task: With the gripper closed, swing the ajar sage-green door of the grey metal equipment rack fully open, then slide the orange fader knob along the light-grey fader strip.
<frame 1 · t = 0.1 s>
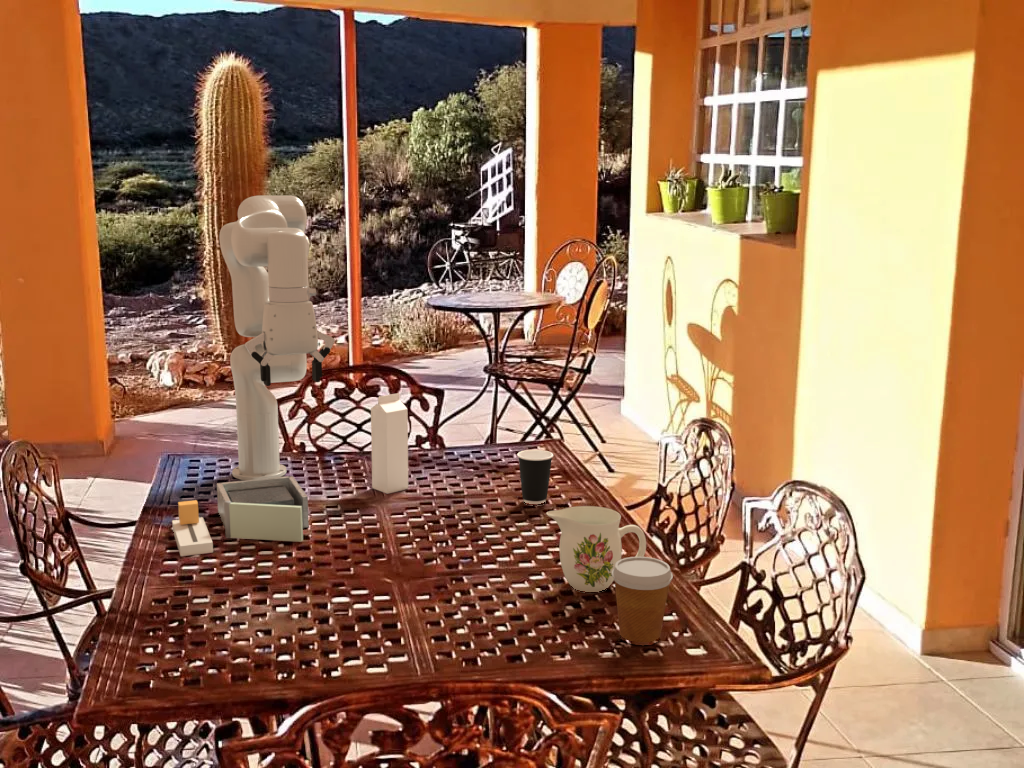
hand: (291, 382, 212), 31 cm above the table, tool pointing down, fingers open, 9 cm apart
disposable coffee cup: (639, 639, 172), on the table
milk: (390, 489, 249), on the table
fader panel: (192, 540, 214), on the table
fader knob: (188, 512, 217), point 4 cm above the table, slide at 0.0 cm
pitcher: (594, 586, 193), on the table
rack door: (263, 521, 214), point 4 cm above the table, hinge at 30.0°
dixie cup: (534, 503, 240), on the table
rack: (262, 519, 226), on the table
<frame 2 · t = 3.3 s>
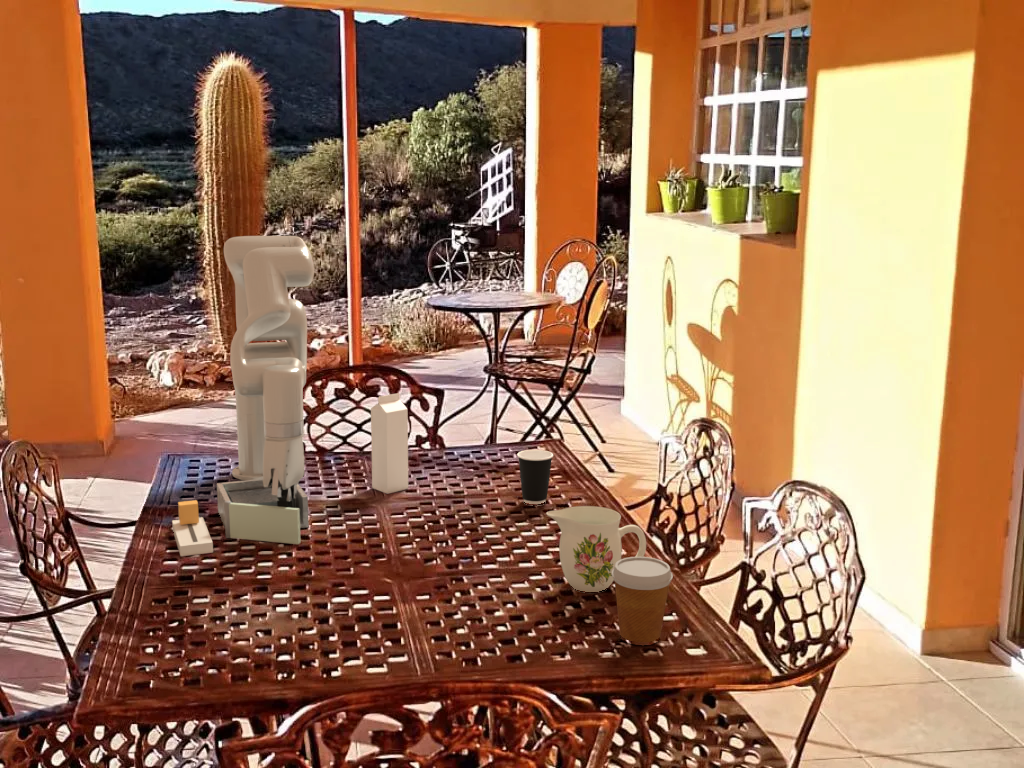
hand: (286, 518, 215), 4 cm above the table, tool pointing down, fingers closed
rack door: (261, 522, 213), point 4 cm above the table, hinge at 35.6°, touching gripper
everything else where it was.
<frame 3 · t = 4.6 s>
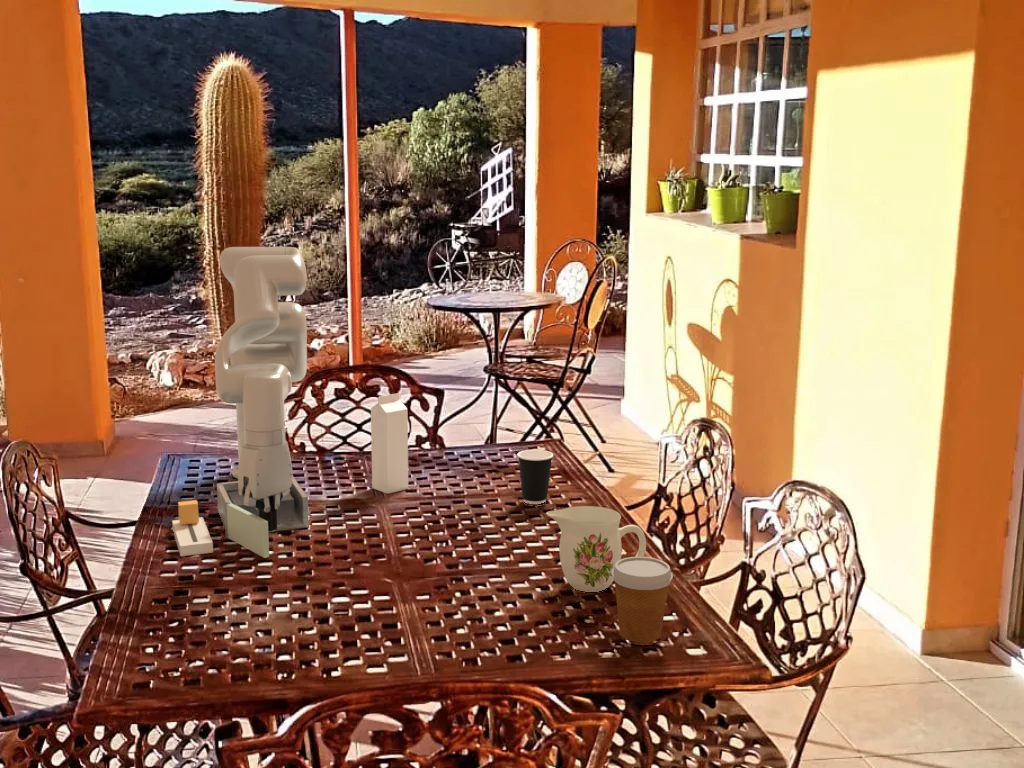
hand: (268, 529, 209), 4 cm above the table, tool pointing down, fingers closed
rack door: (245, 528, 209), point 4 cm above the table, hinge at 70.7°, touching gripper
everything else where it was.
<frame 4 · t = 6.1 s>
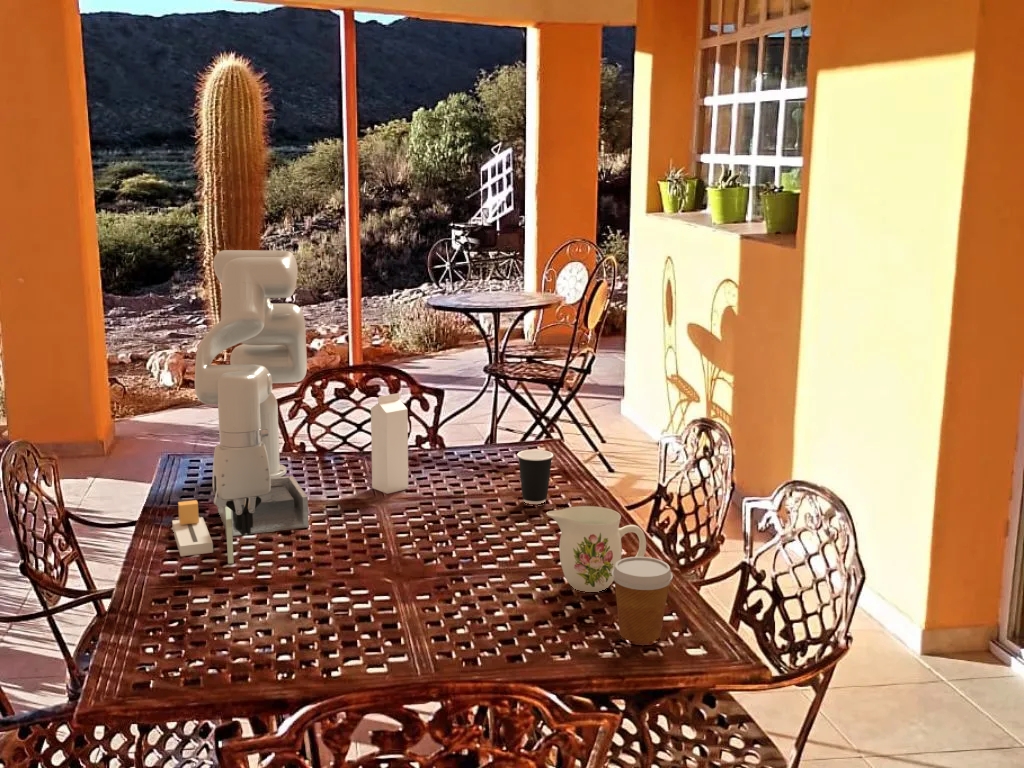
hand: (244, 532, 206), 4 cm above the table, tool pointing down, fingers closed
rack door: (229, 531, 208), point 4 cm above the table, hinge at 96.8°, touching gripper
everything else where it was.
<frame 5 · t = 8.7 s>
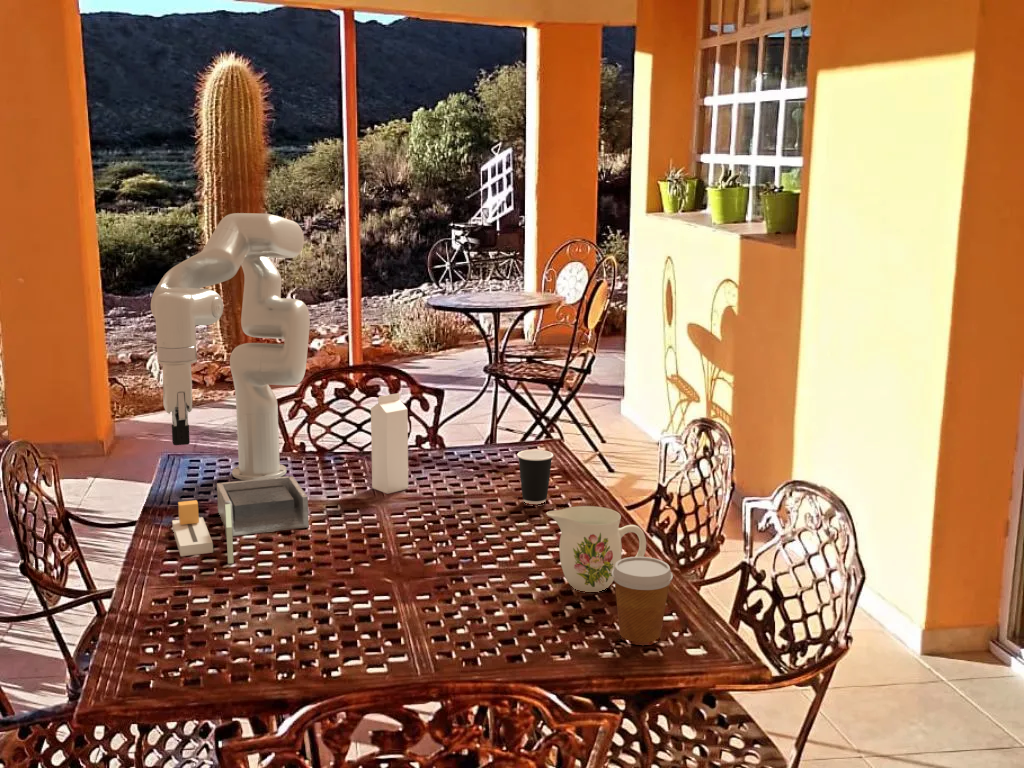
hand: (181, 443, 220), 17 cm above the table, tool pointing down, fingers closed
rack door: (229, 531, 208), point 4 cm above the table, hinge at 96.8°
everything else where it was.
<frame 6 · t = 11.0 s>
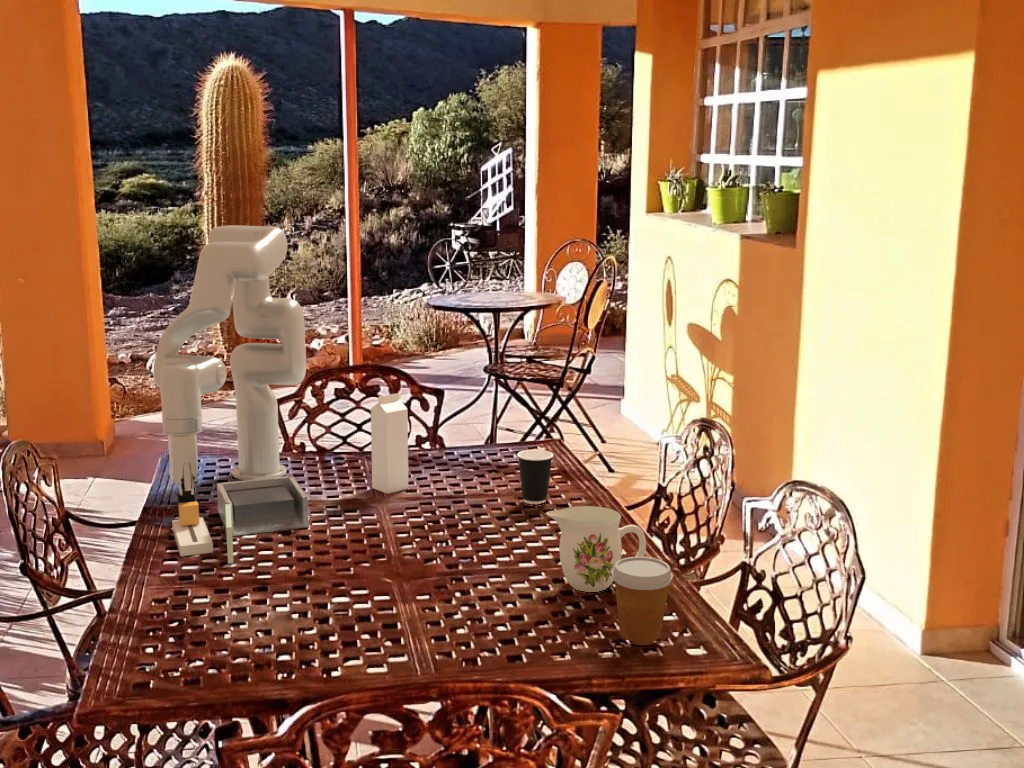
hand: (187, 512, 220), 4 cm above the table, tool pointing down, fingers closed
fader knob: (188, 513, 217), point 4 cm above the table, slide at 0.8 cm, touching gripper
everything else where it was.
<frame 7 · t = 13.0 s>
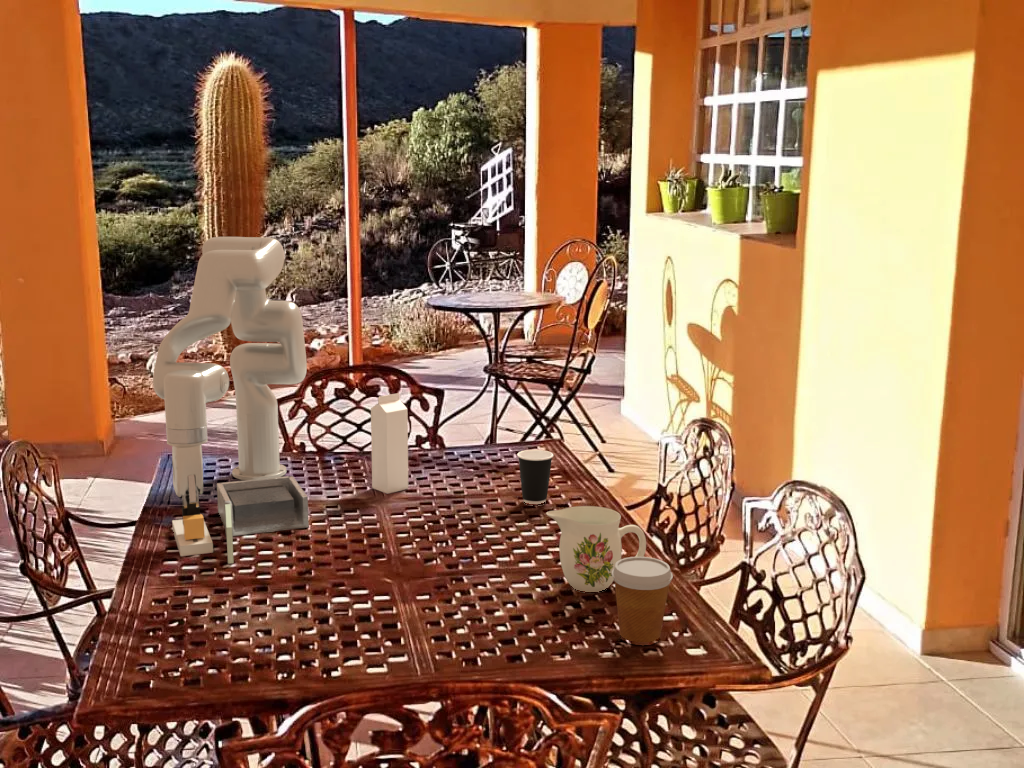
hand: (191, 525, 212), 3 cm above the table, tool pointing down, fingers closed
fader knob: (193, 526, 209), point 4 cm above the table, slide at 9.4 cm, touching gripper
everything else where it was.
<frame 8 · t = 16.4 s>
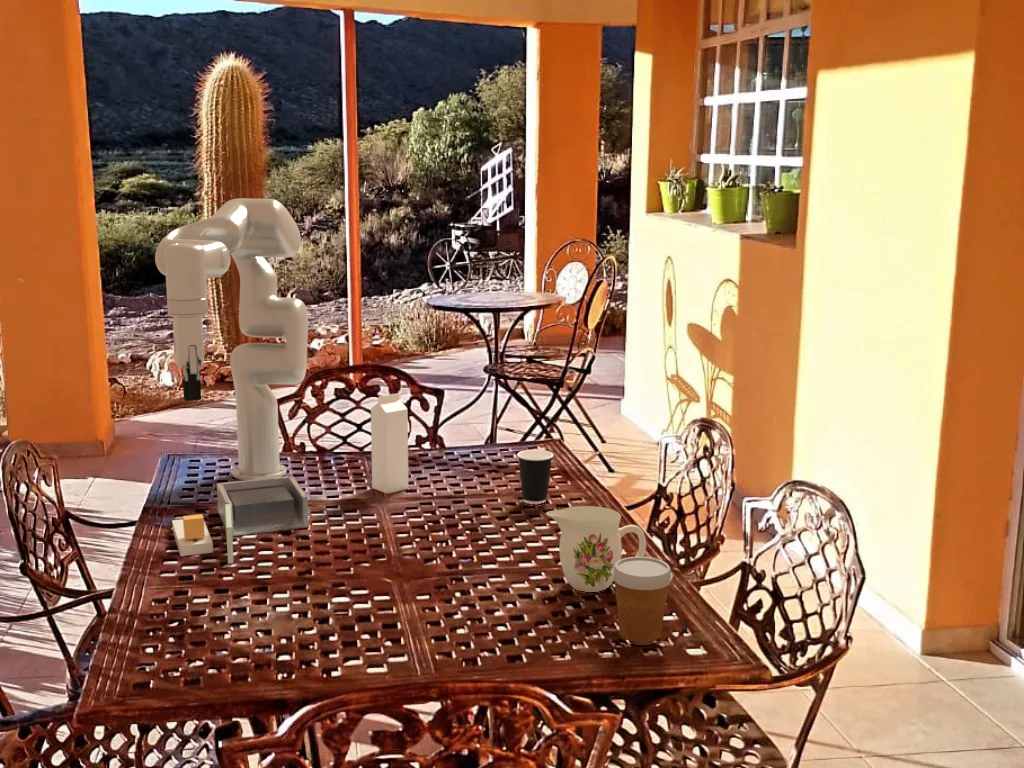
hand: (192, 399, 214), 27 cm above the table, tool pointing down, fingers closed
fader knob: (193, 526, 209), point 4 cm above the table, slide at 9.4 cm
everything else where it was.
at the end: rack door at +97° (first picture: +30°); fader knob slide at 9.4 cm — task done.
